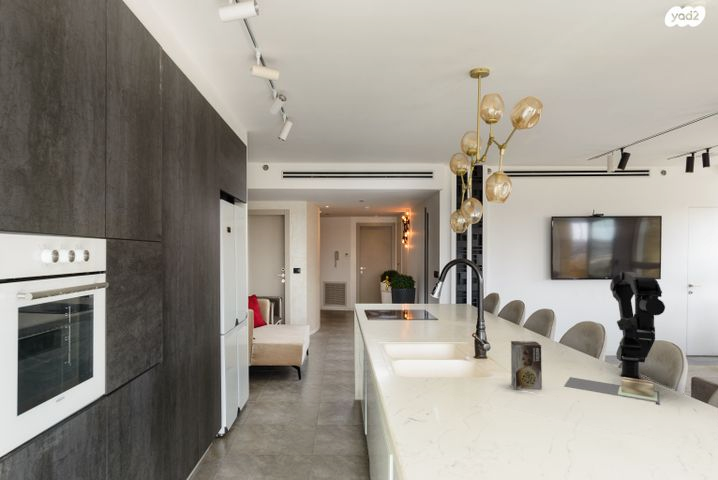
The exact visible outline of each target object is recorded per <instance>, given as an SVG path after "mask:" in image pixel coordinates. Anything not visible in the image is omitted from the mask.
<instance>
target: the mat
mask: <svg viewBox="0 0 718 480" xmlns="http://www.w3.org/2000/svg"><path fill="white" fill-rule="evenodd" d="M563 387H565V388H571V389H576V390H581V391H586V392H587V391H588V392H593V393H600V394H606V395H611V396H616V397H622V398H626V399H627V398H628V399H634V400H641V401H645V402H651V403H655V405H658V406H660V391H659V390H653V398H652V397H646V396H641V395H635V394H629V393H623V392H622V389H621V385H620V384H615V383H609V382H603V381H602V382H601V381H597V380H596V381H595V380H591V379H584V378H578V377H573V376H569V378H568V379H567V381H566V383H565V384H564V385H563Z"/></svg>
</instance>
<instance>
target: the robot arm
mask: <svg viewBox="0 0 718 480" xmlns="http://www.w3.org/2000/svg"><path fill="white" fill-rule="evenodd" d="M609 285H610V286H609V287H610V288H609V289H610V291H611V293H612V297H613V298H614V299H615V300H616V302H617V303H618V309H619V310H618V311H619V317H620V319H619V320H617V321H616V324H617V327H618V328H619V329H618V330H620V331H621V332H622V338H621V339H620V341H619V343H618V344H619V346H618V348H617V351H616V352H615V353H616V354H615V355H616V359H617V360H618V361H620V362H621V372H620V376H619V377H621V378H622V377H625V378H631V379H638V380H641V374H640V363H644V364H645V361H646V359H647V357H648V356H649V353H650V352H651V350H652V348H653V345H654V343H655V341H656V326H655V316H659V315H662V314H663V313H664V312H665V310H666V305H665V303H664V301H662V300H661V299H659V298H662V296H663V295H662V294H663V291H662V288H661V287H660V284H659V282H658V280H656V277H655V276H642V275H641V274H639V273H637V272H636V271H635V270H620V272H619V274H618V275H616V276H614V277H613V278H612V279H611V282H610V284H609ZM633 297H634V311H633V304H632V299H633Z"/></svg>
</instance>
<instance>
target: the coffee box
mask: <svg viewBox="0 0 718 480" xmlns="http://www.w3.org/2000/svg"><path fill="white" fill-rule="evenodd" d="M510 343H511V344H510V353H511V354H510V355H511V356H510V357H511V358H510V361H511V375H510V376H511V377H510V378H511V386H512V387H513V389H514V390H515V391H521V390H538V391H539V390H541V391H542V389H543V384H542V383H543V379H542V377H543V376H542V371H543V370H542V345H541V344H540V343H538V341H535V340H534V341H530V340H529V341H527V340H526V341H525V340H524V341H521V340H520V341H519V340H511V341H510Z"/></svg>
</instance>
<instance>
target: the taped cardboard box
mask: <svg viewBox="0 0 718 480" xmlns="http://www.w3.org/2000/svg"><path fill="white" fill-rule="evenodd" d="M621 389H622V392H623V393H629V394H635V395H641V396H646V397H652V398H653V391H654V381H651V380H644V379H635V378H628V377H621Z"/></svg>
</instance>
